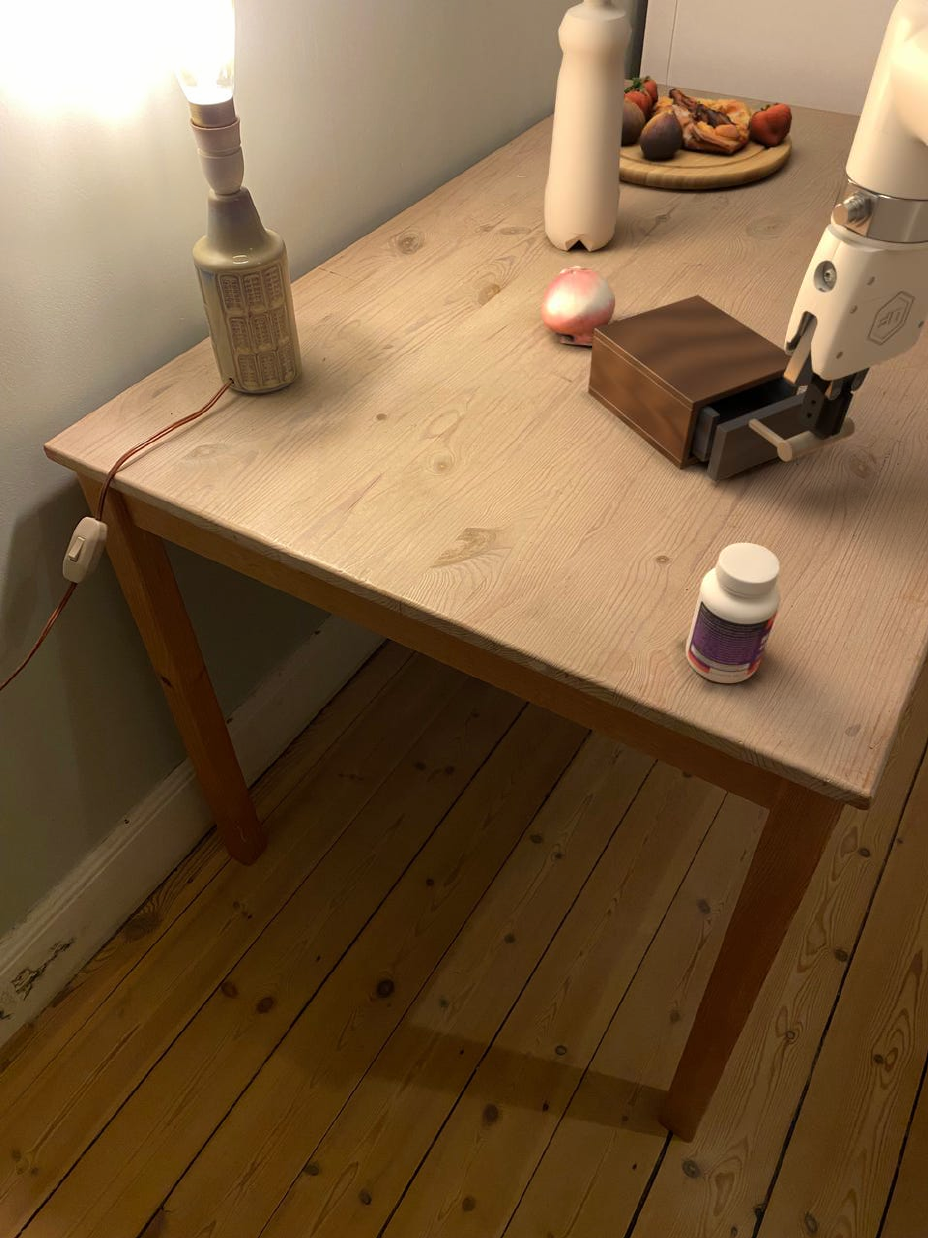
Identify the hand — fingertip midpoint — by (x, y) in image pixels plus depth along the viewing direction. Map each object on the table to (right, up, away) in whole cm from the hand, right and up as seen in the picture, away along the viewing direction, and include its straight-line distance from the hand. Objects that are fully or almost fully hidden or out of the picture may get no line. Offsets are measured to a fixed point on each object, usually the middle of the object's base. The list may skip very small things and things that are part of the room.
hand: (817, 428), depth 75 cm
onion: (-17, +15, +25) cm, 33 cm away
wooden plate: (+3, +54, +60) cm, 81 cm away
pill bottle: (-10, -19, -7) cm, 22 cm away
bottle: (-15, +32, +40) cm, 54 cm away
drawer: (-4, +1, +10) cm, 10 cm away
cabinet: (-8, +5, +14) cm, 17 cm away
